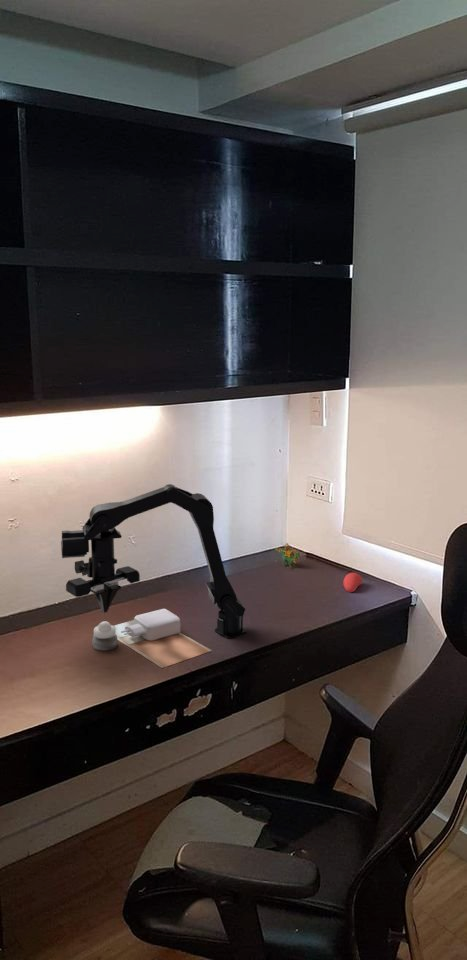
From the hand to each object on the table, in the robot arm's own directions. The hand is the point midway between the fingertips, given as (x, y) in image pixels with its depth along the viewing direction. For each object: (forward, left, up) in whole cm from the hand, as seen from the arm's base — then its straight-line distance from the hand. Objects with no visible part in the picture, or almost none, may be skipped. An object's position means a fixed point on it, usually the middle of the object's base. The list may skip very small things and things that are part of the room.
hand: (104, 612), depth 194 cm
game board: (-8, +5, -9) cm, 14 cm away
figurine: (-81, -16, -9) cm, 83 cm away
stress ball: (-83, +12, -10) cm, 84 cm away
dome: (0, 0, -6) cm, 6 cm away
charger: (-12, +2, -9) cm, 15 cm away
